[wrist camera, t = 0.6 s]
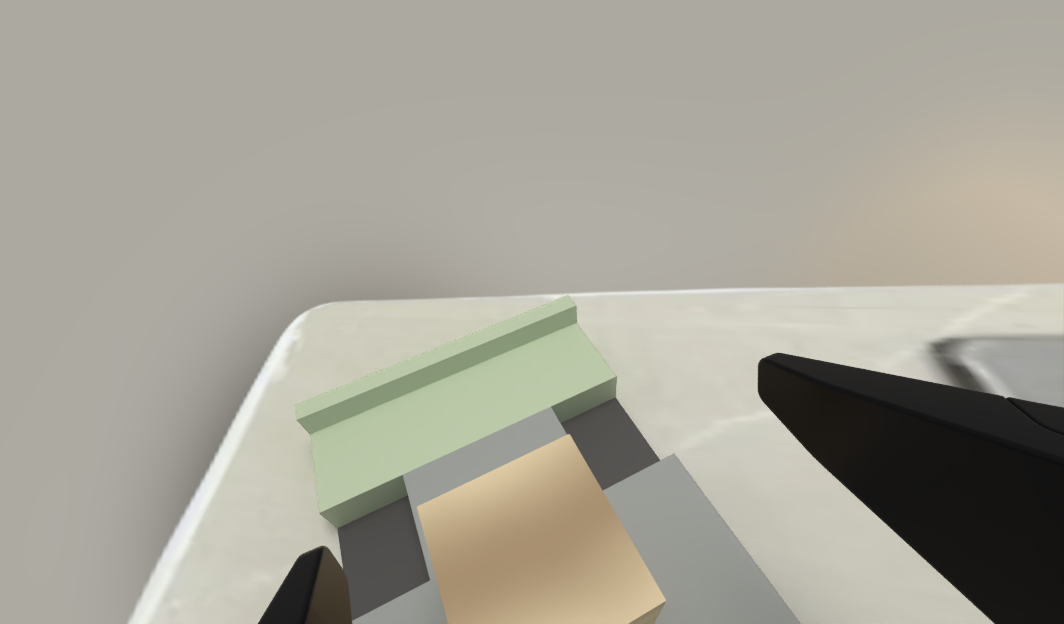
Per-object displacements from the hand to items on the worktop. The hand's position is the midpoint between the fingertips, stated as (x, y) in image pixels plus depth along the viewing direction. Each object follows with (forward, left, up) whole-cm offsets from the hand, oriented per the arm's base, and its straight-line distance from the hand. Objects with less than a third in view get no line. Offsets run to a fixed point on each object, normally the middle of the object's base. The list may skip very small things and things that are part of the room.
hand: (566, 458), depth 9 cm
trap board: (+4, +2, -15) cm, 15 cm away
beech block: (0, +1, -12) cm, 12 cm away
